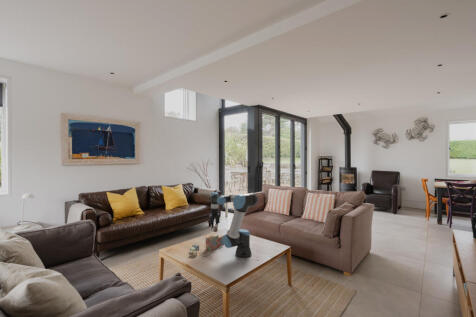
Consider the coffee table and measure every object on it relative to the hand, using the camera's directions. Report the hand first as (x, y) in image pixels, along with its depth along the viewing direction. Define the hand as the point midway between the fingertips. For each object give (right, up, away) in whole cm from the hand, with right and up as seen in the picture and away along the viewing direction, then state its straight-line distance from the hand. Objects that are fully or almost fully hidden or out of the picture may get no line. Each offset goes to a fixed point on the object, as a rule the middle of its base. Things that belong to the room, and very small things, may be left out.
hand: (214, 230), depth 236 cm
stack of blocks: (+1, -17, +1) cm, 17 cm away
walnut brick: (0, -1, 0) cm, 1 cm away
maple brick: (-18, -17, -20) cm, 32 cm away
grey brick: (-18, -17, -5) cm, 26 cm away
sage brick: (-20, -17, -12) cm, 29 cm away
